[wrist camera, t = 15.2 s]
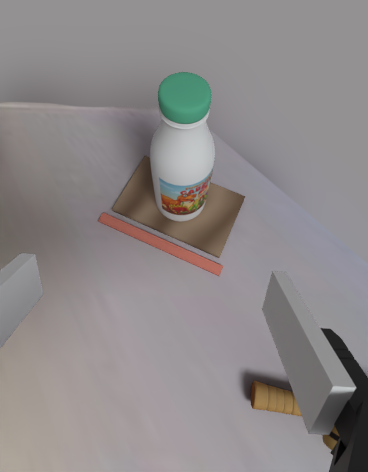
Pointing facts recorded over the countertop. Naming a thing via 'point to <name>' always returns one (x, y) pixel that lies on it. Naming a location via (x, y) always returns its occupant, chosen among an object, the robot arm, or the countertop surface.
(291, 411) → the kendama
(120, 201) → the board
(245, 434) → the countertop surface
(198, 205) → the milk bottle
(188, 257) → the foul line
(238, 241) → the countertop surface
